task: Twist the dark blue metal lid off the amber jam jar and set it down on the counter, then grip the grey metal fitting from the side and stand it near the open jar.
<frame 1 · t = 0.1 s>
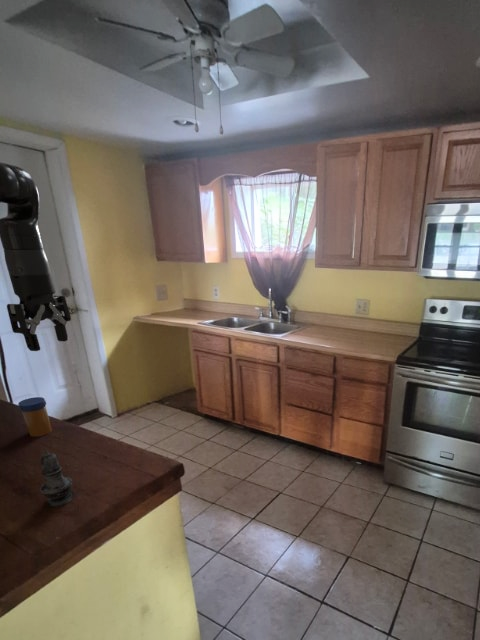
hand: (49, 345, 86), 29 cm above the table, tool pointing down, fingers open, 8 cm apart
grey metal fitting: (60, 499, 80), on the table
lid: (31, 402, 101), point 10 cm above the table, screwed on, not yet turned
jar: (42, 436, 105), on the table
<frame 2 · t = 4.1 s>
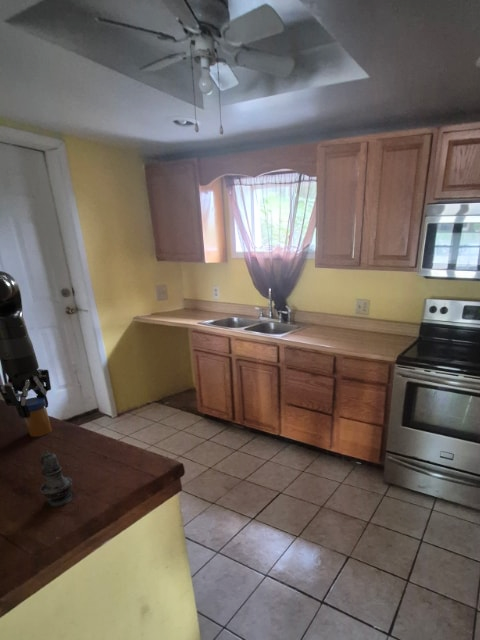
hand: (35, 412, 102), 8 cm above the table, tool pointing down, fingers closed on lid, 6 cm apart
lid: (32, 402, 101), point 10 cm above the table, screwed on, not yet turned, touching gripper
everything else where it was.
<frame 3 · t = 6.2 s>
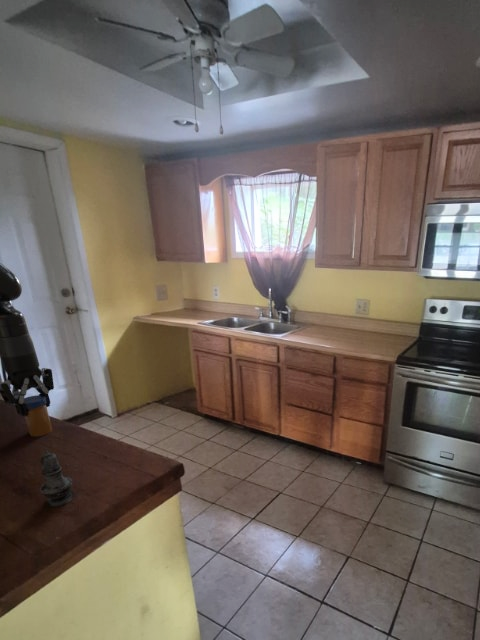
hand: (35, 410, 102), 8 cm above the table, tool pointing down, fingers closed on lid, 6 cm apart
lid: (32, 400, 101), point 11 cm above the table, off its thread, touching gripper
everything else where it was.
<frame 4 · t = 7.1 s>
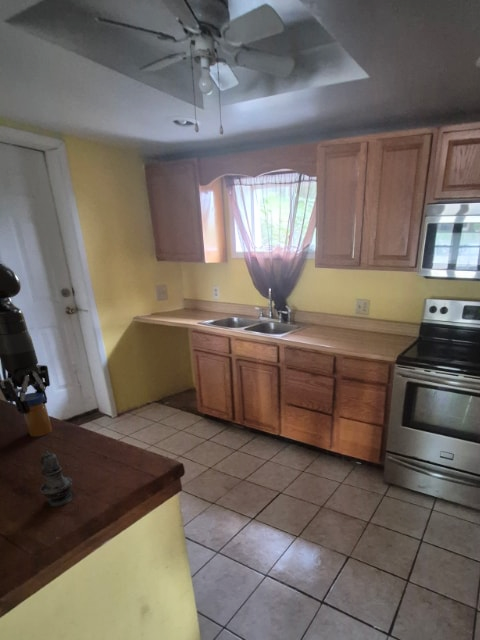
hand: (34, 407, 102), 9 cm above the table, tool pointing down, fingers closed on lid, 6 cm apart
lid: (31, 397, 100), point 12 cm above the table, off its thread, touching gripper
jar: (42, 436, 105), on the table, touching gripper
everything else where it was.
when the fingers open (0 cm above the table, at t = 15.0 s): lid drops 1 cm, point 1 cm above the table.
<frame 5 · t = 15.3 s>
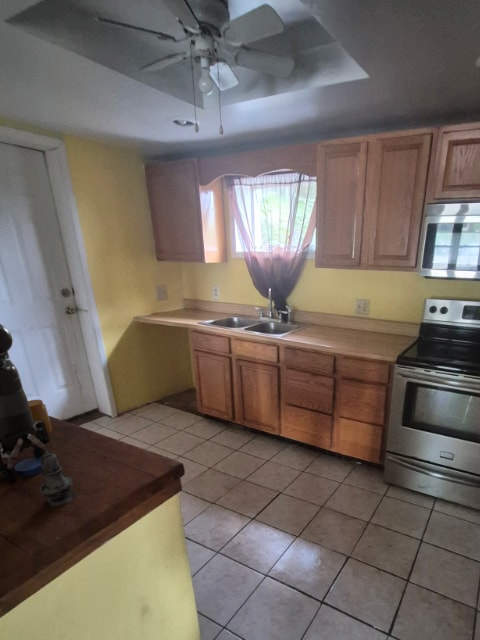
hand: (27, 471, 89), 0 cm above the table, tool pointing down, fingers open, 8 cm apart
lid: (29, 465, 89), point 1 cm above the table, off its thread
jar: (42, 436, 105), on the table
everything else where it was.
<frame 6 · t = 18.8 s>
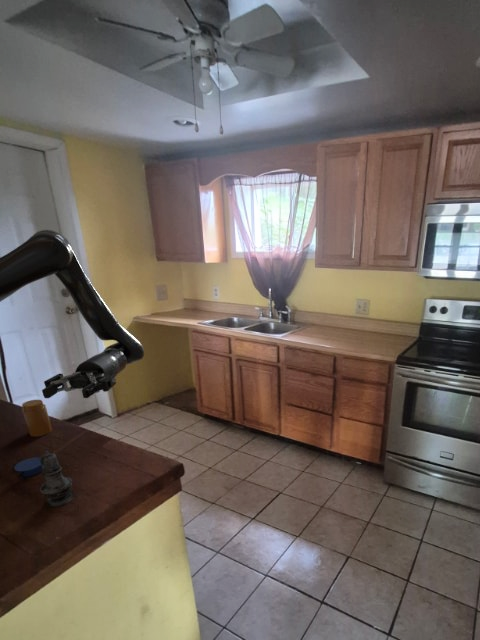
hand: (64, 394, 82), 20 cm above the table, tool horizontal, fingers open, 8 cm apart
nothing on the table moved.
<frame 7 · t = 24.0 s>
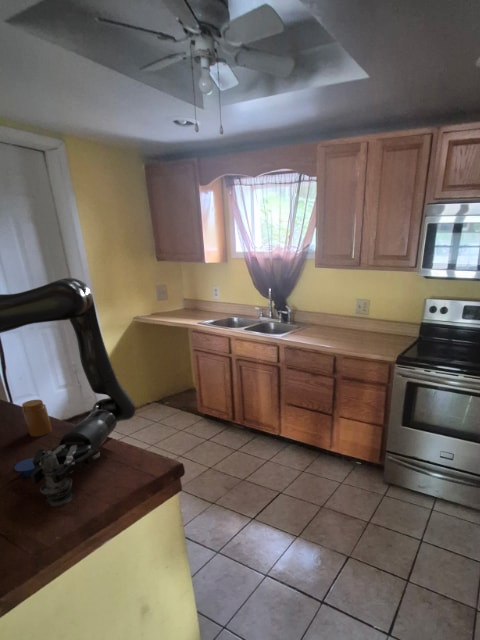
hand: (44, 479, 75), 7 cm above the table, tool horizontal, fingers closed on grey metal fitting, 3 cm apart
grey metal fitting: (60, 499, 80), on the table, touching gripper
everything else where it was.
when the fingers open (7 cm above the table, at t = 32.0 s): grey metal fitting stays where it is, on the table.
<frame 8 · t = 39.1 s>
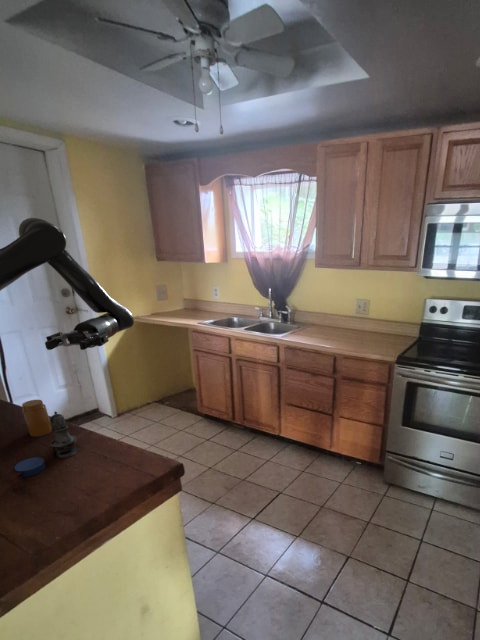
hand: (64, 346, 96), 26 cm above the table, tool horizontal, fingers open, 8 cm apart
grey metal fitting: (67, 453, 97), on the table
everything else where it was.
at the end: lid point 1.3 cm above the table; the gripper is holding nothing; grey metal fitting inside the target area (0.1 cm from its centre), on the table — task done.
